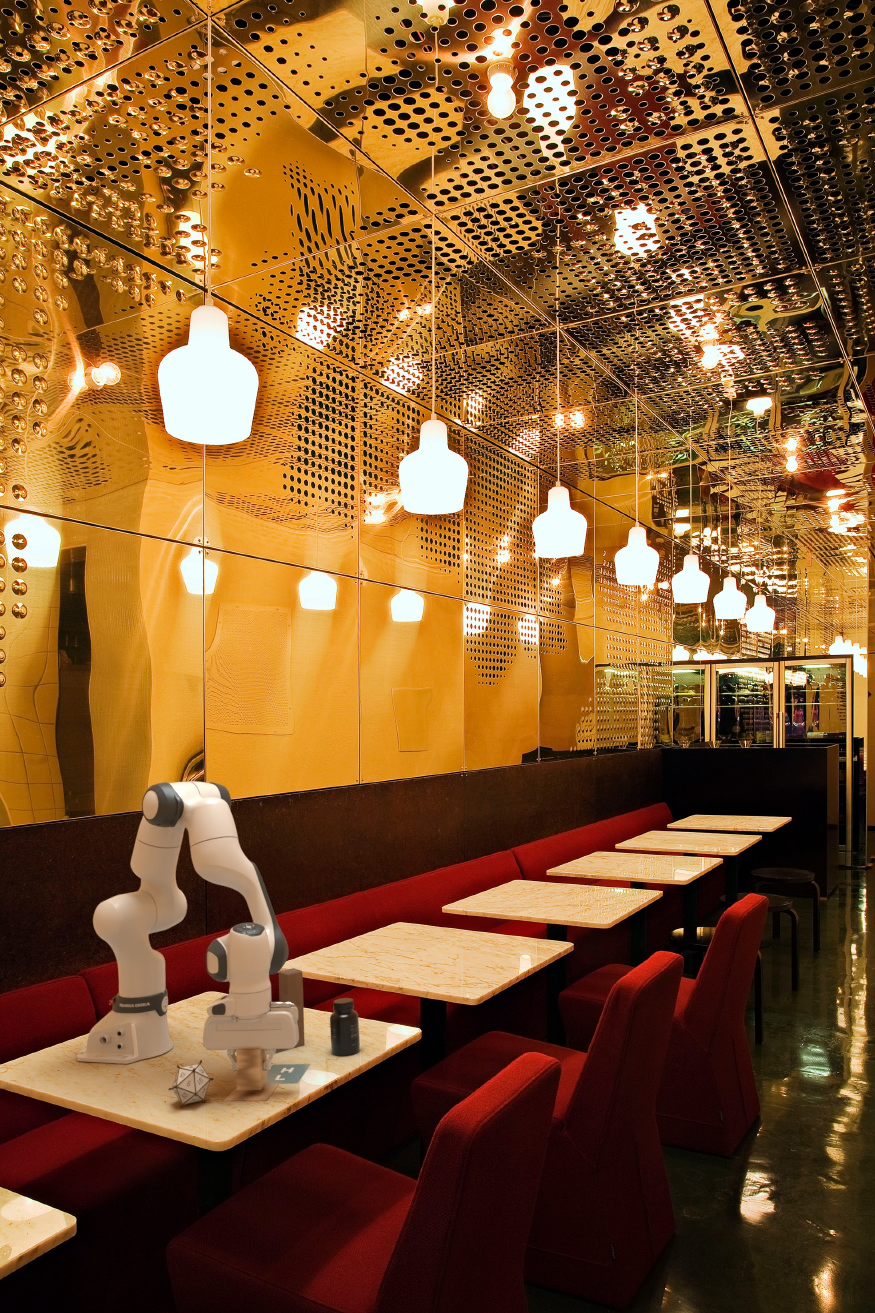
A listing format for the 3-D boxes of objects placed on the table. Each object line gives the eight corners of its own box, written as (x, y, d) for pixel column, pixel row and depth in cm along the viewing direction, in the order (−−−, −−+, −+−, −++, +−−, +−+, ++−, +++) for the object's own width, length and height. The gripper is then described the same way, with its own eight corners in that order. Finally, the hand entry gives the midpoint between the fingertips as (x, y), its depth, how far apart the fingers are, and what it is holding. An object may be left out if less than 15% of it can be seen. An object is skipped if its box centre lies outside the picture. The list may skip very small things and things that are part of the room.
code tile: (257, 1085, 189) (257, 1084, 189) (272, 1065, 201) (272, 1064, 201) (297, 1084, 188) (297, 1083, 188) (310, 1065, 200) (310, 1064, 200)
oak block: (237, 1090, 182) (236, 1050, 183) (244, 1081, 187) (243, 1042, 188) (260, 1089, 182) (259, 1050, 183) (267, 1081, 187) (266, 1042, 188)
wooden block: (272, 1055, 208) (270, 977, 211) (263, 1051, 212) (261, 974, 214) (305, 1046, 214) (303, 970, 216) (296, 1042, 218) (294, 967, 220)
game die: (181, 1125, 179) (152, 1085, 180) (210, 1096, 186) (181, 1058, 187) (201, 1112, 174) (171, 1071, 175) (230, 1082, 181) (200, 1043, 182)
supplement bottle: (354, 1046, 212) (352, 995, 214) (364, 1054, 206) (362, 1001, 207) (327, 1051, 209) (325, 999, 211) (336, 1059, 203) (334, 1006, 204)
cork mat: (224, 1102, 180) (224, 1100, 180) (238, 1086, 189) (238, 1084, 189) (267, 1102, 179) (266, 1100, 179) (278, 1085, 188) (278, 1083, 188)
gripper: (301, 997, 189) (303, 1064, 187) (210, 999, 190) (211, 1065, 189) (294, 1005, 182) (296, 1074, 181) (199, 1008, 184) (200, 1076, 183)
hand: (252, 1070), depth 185 cm, fingers closed on oak block, 5 cm apart
